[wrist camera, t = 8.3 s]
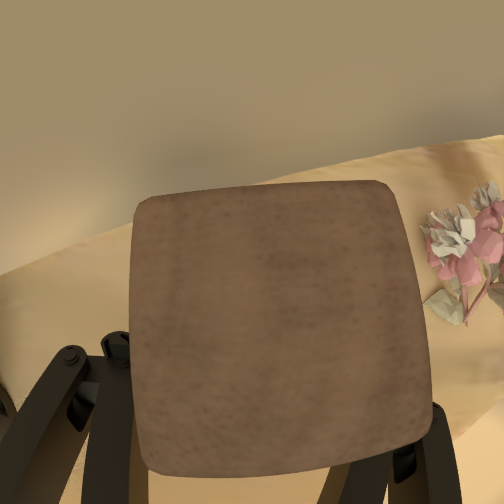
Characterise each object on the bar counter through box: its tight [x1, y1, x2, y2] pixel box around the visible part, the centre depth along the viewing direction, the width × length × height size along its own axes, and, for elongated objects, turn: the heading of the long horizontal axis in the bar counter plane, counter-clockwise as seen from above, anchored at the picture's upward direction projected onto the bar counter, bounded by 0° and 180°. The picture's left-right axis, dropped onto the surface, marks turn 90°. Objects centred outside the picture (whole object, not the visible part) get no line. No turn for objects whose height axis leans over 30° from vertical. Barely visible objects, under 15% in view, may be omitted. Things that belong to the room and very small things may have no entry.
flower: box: [419, 177, 504, 327], centre depth 30 cm, size 20×22×25 cm
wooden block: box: [129, 180, 433, 478], centre depth 12 cm, size 9×4×18 cm, turn 95°
